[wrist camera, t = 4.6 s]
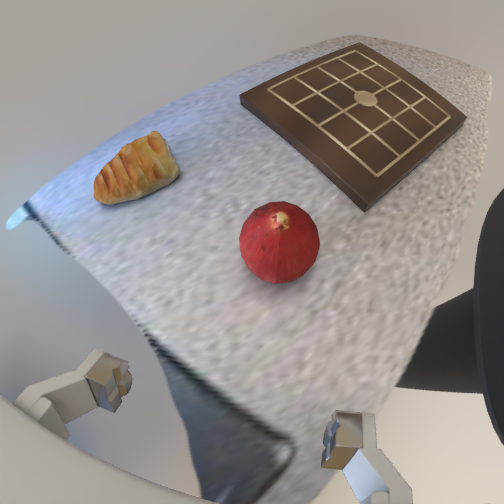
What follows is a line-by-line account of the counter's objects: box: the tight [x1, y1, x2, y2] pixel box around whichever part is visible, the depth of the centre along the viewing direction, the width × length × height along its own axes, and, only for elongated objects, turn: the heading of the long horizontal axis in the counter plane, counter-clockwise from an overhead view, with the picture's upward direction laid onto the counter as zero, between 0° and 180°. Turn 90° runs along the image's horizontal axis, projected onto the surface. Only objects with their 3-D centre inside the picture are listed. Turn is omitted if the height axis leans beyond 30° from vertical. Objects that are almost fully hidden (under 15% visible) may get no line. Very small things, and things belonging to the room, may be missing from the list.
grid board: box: [240, 43, 467, 212], centre depth 31 cm, size 19×22×2 cm
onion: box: [239, 201, 320, 284], centre depth 22 cm, size 6×6×8 cm
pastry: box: [94, 131, 180, 205], centre depth 29 cm, size 9×7×4 cm
